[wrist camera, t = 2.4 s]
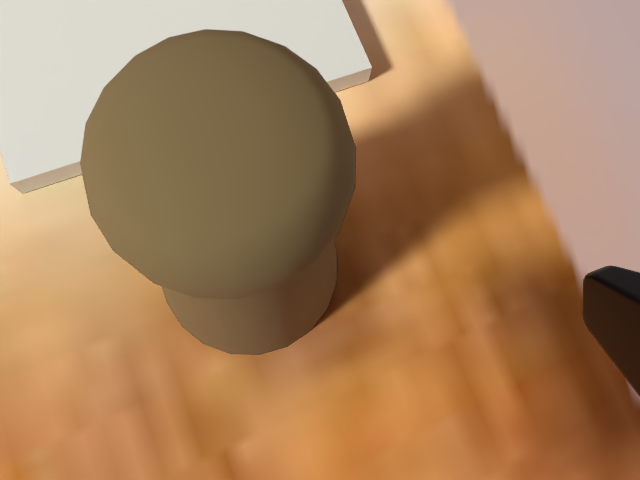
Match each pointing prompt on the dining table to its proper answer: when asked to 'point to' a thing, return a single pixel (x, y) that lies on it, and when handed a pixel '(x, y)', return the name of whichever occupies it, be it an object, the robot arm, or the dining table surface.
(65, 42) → the white board
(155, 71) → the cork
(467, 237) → the dining table surface
